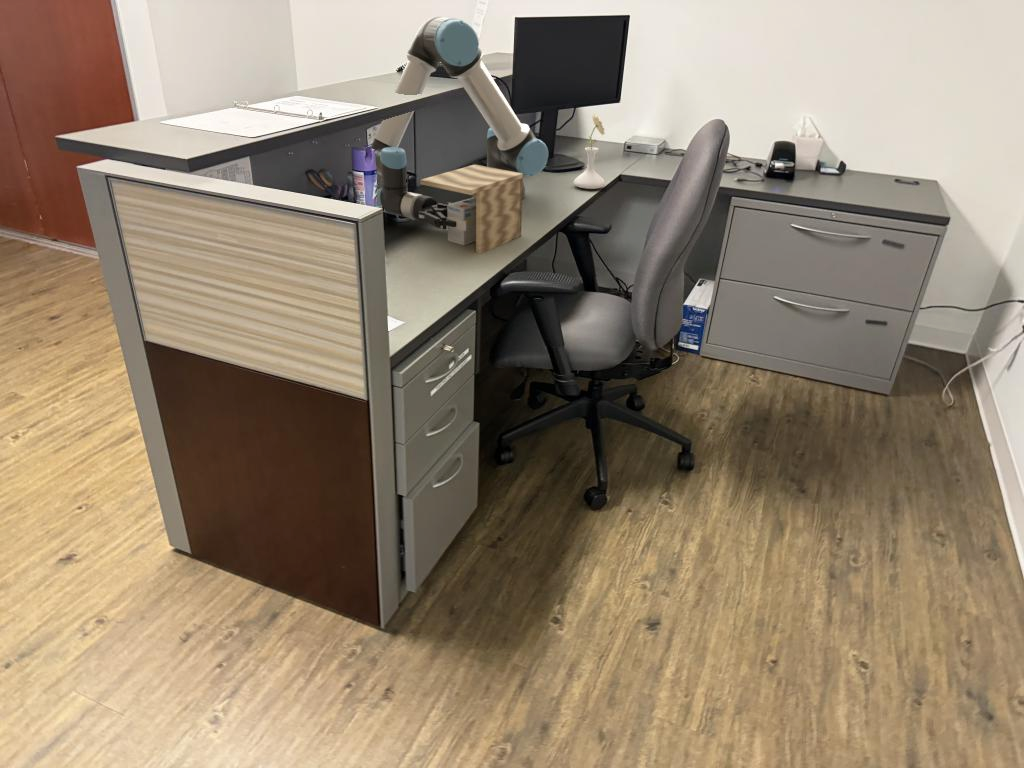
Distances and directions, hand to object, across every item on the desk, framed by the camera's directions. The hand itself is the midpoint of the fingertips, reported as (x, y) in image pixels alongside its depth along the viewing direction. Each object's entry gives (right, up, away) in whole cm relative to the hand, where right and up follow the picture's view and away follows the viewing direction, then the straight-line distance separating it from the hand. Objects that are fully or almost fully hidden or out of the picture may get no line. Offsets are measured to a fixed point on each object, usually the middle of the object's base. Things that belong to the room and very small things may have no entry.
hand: (479, 221), depth 213 cm
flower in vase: (+37, +26, +62) cm, 77 cm away
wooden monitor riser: (-2, -5, +4) cm, 6 cm away
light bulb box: (-3, -4, +5) cm, 7 cm away
